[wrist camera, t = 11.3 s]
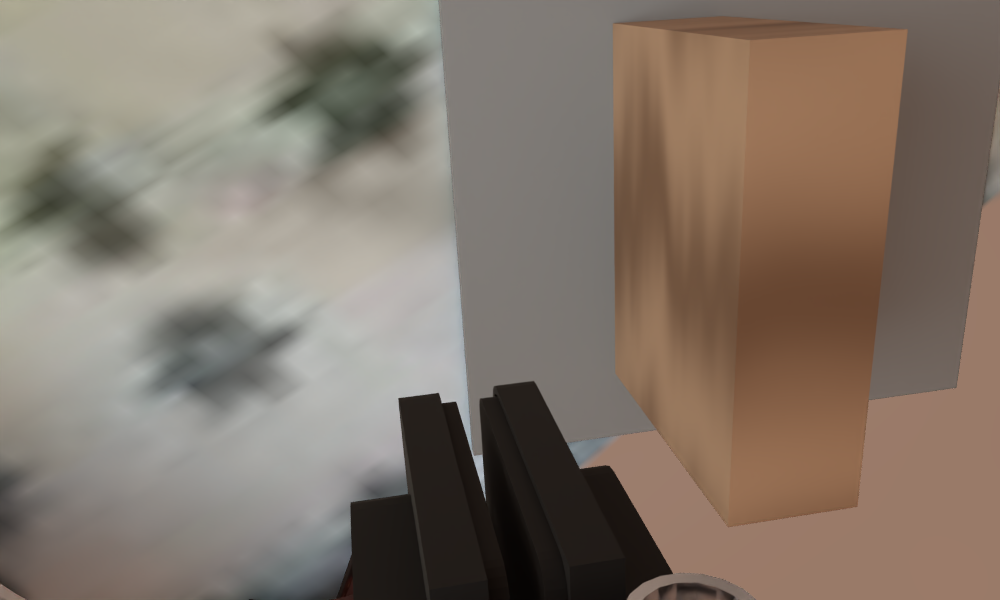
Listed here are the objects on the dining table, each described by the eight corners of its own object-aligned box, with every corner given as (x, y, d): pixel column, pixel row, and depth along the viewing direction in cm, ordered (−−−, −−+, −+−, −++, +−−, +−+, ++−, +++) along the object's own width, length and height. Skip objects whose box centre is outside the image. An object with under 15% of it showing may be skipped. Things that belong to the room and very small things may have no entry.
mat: (435, -46, 22) (436, -46, 21) (1011, -77, 24) (1022, -77, 24) (472, 449, 26) (474, 455, 26) (948, 382, 29) (956, 387, 28)
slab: (612, 23, 22) (749, 40, 15) (723, 16, 23) (910, 29, 16) (615, 373, 26) (727, 527, 19) (711, 361, 26) (859, 506, 19)
